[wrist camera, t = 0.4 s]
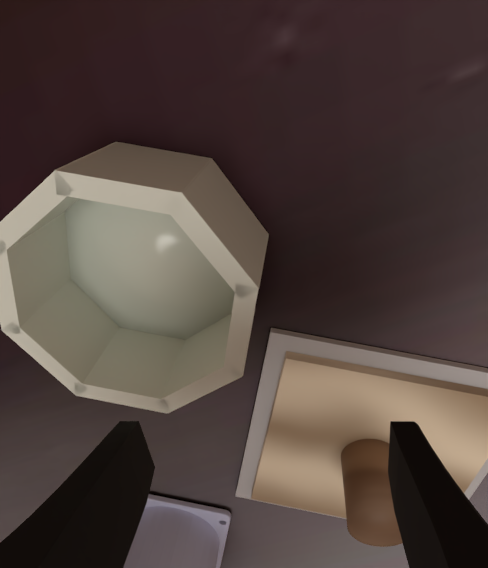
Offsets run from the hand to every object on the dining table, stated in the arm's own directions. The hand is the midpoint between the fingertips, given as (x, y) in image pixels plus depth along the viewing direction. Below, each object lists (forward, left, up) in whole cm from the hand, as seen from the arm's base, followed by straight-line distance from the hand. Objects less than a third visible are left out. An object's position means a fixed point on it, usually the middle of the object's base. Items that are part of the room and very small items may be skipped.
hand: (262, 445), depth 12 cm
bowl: (+1, +6, -9) cm, 11 cm away
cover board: (-9, -7, -9) cm, 15 cm away
